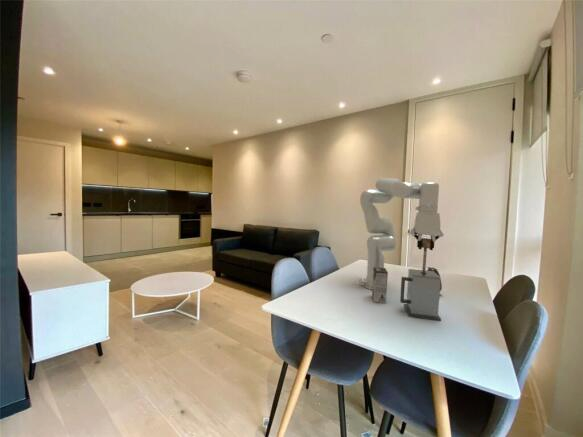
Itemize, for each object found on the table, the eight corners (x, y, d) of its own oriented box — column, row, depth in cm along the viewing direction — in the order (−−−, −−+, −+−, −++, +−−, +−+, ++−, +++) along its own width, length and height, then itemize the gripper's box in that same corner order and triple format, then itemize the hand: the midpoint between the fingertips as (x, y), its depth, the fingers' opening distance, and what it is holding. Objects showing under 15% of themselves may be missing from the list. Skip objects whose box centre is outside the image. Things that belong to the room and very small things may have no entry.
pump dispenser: (436, 291, 150) (437, 265, 149) (444, 297, 140) (446, 270, 139) (418, 289, 151) (419, 264, 150) (425, 296, 141) (427, 269, 140)
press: (402, 315, 114) (404, 274, 113) (397, 304, 127) (400, 267, 126) (440, 321, 110) (444, 278, 109) (432, 309, 123) (435, 270, 122)
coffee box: (371, 295, 139) (373, 266, 138) (383, 297, 137) (385, 267, 136) (373, 302, 130) (375, 271, 129) (386, 303, 128) (388, 272, 127)
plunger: (414, 283, 114) (417, 239, 113) (410, 278, 123) (413, 237, 122) (436, 286, 112) (439, 240, 111) (431, 280, 121) (434, 238, 119)
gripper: (409, 209, 114) (407, 249, 115) (451, 210, 110) (448, 252, 111) (406, 208, 121) (404, 246, 122) (445, 210, 117) (442, 249, 118)
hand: (425, 248), depth 116 cm, fingers closed on plunger, 4 cm apart
